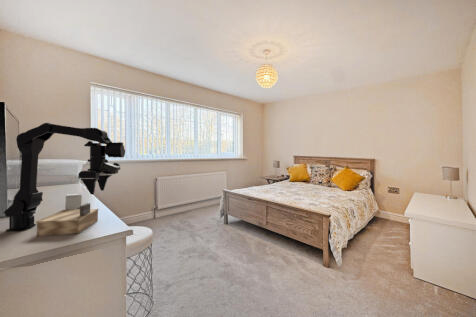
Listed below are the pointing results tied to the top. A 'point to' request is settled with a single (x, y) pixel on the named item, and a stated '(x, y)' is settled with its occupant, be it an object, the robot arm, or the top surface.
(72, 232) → the brown piece
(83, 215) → the lid
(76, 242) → the top surface
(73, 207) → the skincare box
